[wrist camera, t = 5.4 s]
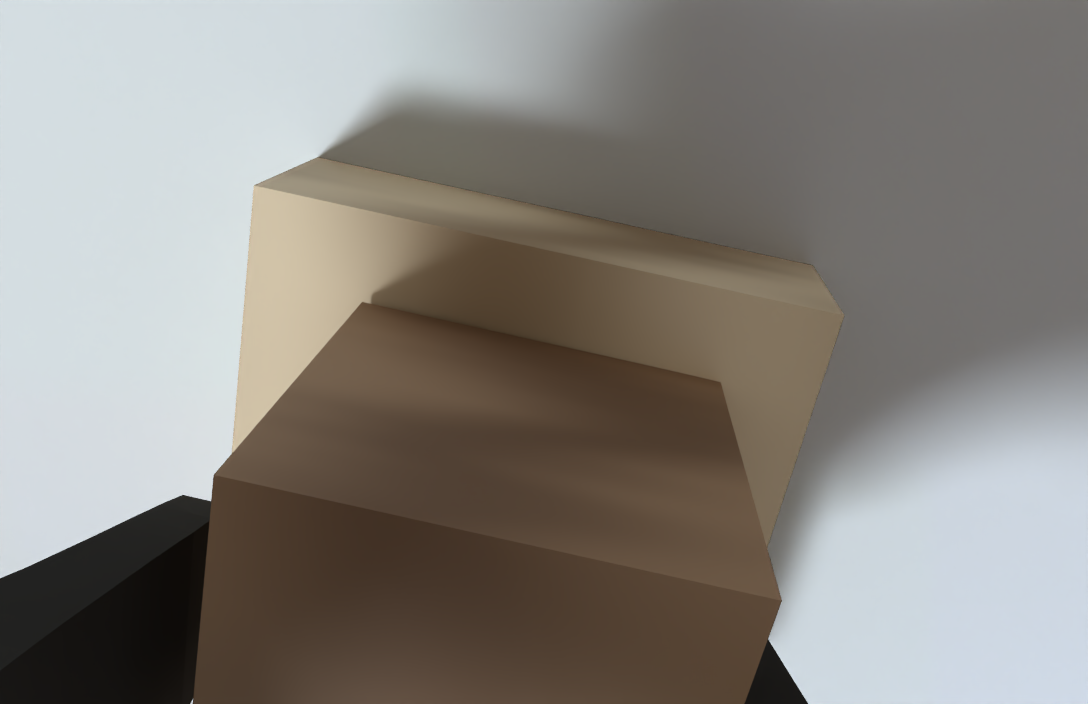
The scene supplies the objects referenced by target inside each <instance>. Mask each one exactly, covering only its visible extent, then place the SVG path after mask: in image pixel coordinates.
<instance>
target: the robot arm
mask: <svg viewBox="0 0 1088 704" xmlns="http://www.w3.org/2000/svg"><path fill="white" fill-rule="evenodd" d="M210 511H211V501H207V500H202V499H198V498H194V497H189V496H185V495H182V496H180V497H177V498H175V499H172V500H170V501H167V502H165V503H163V504H161V505H158V506H156V507H154V508H152V509H150V510H148V511H146V512H143V513H141V514H139V515H137V516H135V517H133V518H131V519H129V520H127V521H125V522H122V523H120V524H118V525H116V526H114V527H112V528H110V529H108V530H106V531H104V532H102V533H100V534H97V535H95V536H93V537H91V538H89V539H87V540H85V541H82V542H80V543H78V544H76V545H74V546H72V547H70V548H67V549H65V550H63V551H61V552H59V553H57V554H55V555H52V556H50V557H48V558H46V559H44V560H42V561H40V562H37V563H35V564H33V565H31V566H29V567H26V568H24V569H22V570H19V571H17V572H15V573H12V574H10V575H7V576H5V577H3V578H0V704H190V703H191V701H192V699H193V697H194V686H195V675H196V664H197V653H198V642H199V631H200V620H201V609H202V598H203V587H204V577H205V566H206V555H207V544H208V533H209V522H210ZM745 704H808V703H807V701H806V700H805V698H804V696H803V695H802V693H801V692H800V690H799V688H798V687H797V685H796V684H795V682H794V680H793V679H792V677H791V676H790V674H789V672H788V671H787V669H786V668H785V666H784V664H783V663H782V661H781V660H780V658H779V656H778V655H777V653H776V651H775V650H774V648H773V647H772V645H771V643H770V642H769V640H767V643H766V646H765V648H764V651H763V654H762V657H761V659H760V662H759V665H758V668H757V670H756V673H755V676H754V679H753V682H752V684H751V687H750V690H749V693H748V695H747V698H746V701H745Z"/></svg>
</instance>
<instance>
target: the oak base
mask: <svg viewBox="0 0 1088 704" xmlns="http://www.w3.org/2000/svg"><path fill="white" fill-rule="evenodd" d="M362 302H365V303H370V304H374V305H379V306H383V307H388V308H392V309H397V310H401V311H406V312H410V313H415V314H419V315H424V316H428V317H433V318H437V319H442V320H446V321H451V322H455V323H460V324H464V325H469V326H473V327H478V328H482V329H487V330H491V331H496V332H500V333H505V334H509V335H514V336H518V337H523V338H527V339H531V340H536V341H540V342H545V343H549V344H554V345H558V346H563V347H567V348H572V349H576V350H581V351H585V352H590V353H594V354H599V355H603V356H608V357H612V358H617V359H621V360H626V361H630V362H635V363H639V364H644V365H648V366H653V367H657V368H662V369H666V370H671V371H675V372H680V373H684V374H688V375H692V376H697V377H701V378H705V379H709V380H714V381H718V382H721V385H722V389H723V392H724V396H725V400H726V403H727V407H728V410H729V414H730V418H731V421H732V425H733V428H734V432H735V435H736V439H737V443H738V446H739V450H740V453H741V457H742V460H743V464H744V468H745V471H746V475H747V478H748V482H749V485H750V489H751V493H752V496H753V500H754V503H755V507H756V510H757V514H758V518H759V521H760V525H761V528H762V532H763V535H764V539H765V543H766V546H767V547H768V544H769V541H770V538H771V535H772V532H773V529H774V526H775V523H776V520H777V517H778V514H779V511H780V508H781V505H782V502H783V499H784V496H785V493H786V490H787V487H788V484H789V481H790V478H791V475H792V472H793V469H794V466H795V463H796V460H797V457H798V454H799V451H800V448H801V445H802V442H803V439H804V436H805V433H806V429H807V426H808V423H809V420H810V417H811V414H812V411H813V408H814V405H815V402H816V399H817V396H818V393H819V390H820V387H821V384H822V381H823V378H824V375H825V372H826V369H827V366H828V363H829V360H830V357H831V354H832V351H833V348H834V345H835V342H836V339H837V336H838V333H839V330H840V327H841V324H842V321H843V318H844V314H843V312H842V311H841V309H840V308H839V306H838V305H837V303H836V301H835V300H834V298H833V297H832V295H831V293H830V292H829V290H828V289H827V287H826V285H825V284H824V282H823V281H822V279H821V278H820V276H819V274H818V273H817V271H816V270H815V268H814V266H813V265H808V264H804V263H799V262H795V261H790V260H785V259H781V258H776V257H772V256H767V255H763V254H758V253H753V252H749V251H744V250H740V249H735V248H730V247H726V246H721V245H717V244H712V243H708V242H703V241H698V240H694V239H689V238H685V237H680V236H676V235H671V234H666V233H662V232H657V231H653V230H648V229H644V228H639V227H634V226H630V225H625V224H621V223H616V222H611V221H607V220H602V219H598V218H593V217H589V216H584V215H579V214H575V213H570V212H566V211H561V210H557V209H552V208H547V207H543V206H538V205H534V204H529V203H524V202H520V201H515V200H511V199H506V198H502V197H497V196H492V195H488V194H483V193H479V192H474V191H470V190H465V189H460V188H456V187H451V186H447V185H442V184H438V183H433V182H428V181H424V180H419V179H415V178H410V177H405V176H401V175H396V174H392V173H387V172H383V171H378V170H373V169H369V168H364V167H360V166H355V165H351V164H346V163H341V162H337V161H332V160H328V159H323V158H318V157H317V158H315V159H313V160H310V161H308V162H306V163H304V164H301V165H299V166H297V167H294V168H292V169H290V170H288V171H285V172H283V173H281V174H279V175H276V176H274V177H272V178H270V179H267V180H265V181H263V182H261V183H258V184H256V185H254V191H253V203H252V215H251V227H250V239H249V251H248V263H247V276H246V288H245V300H244V312H243V324H242V336H241V348H240V360H239V373H238V385H237V397H236V409H235V421H234V433H233V445H232V453H233V452H234V451H235V450H236V448H237V447H238V446H239V445H240V444H241V443H242V441H243V440H244V439H245V438H246V437H247V436H248V434H249V433H250V432H251V431H252V430H253V429H254V427H255V426H256V425H257V424H258V423H259V422H260V420H261V419H262V418H263V417H264V416H265V415H266V413H267V412H268V411H269V410H270V409H271V408H272V406H273V405H274V404H275V403H276V402H277V401H278V399H279V398H280V397H281V396H282V395H283V394H284V392H285V391H286V390H287V389H288V388H289V387H290V385H291V384H292V383H293V382H294V381H295V380H296V378H297V377H298V376H299V375H300V374H301V373H302V371H303V370H304V369H305V368H306V367H307V366H308V364H309V363H310V362H311V361H312V360H313V359H314V357H315V356H316V355H317V354H318V353H319V352H320V350H321V349H322V348H323V347H324V346H325V345H326V343H327V342H328V341H329V340H330V339H331V338H332V336H333V335H334V334H335V333H336V332H337V331H338V329H339V328H340V327H341V326H342V325H343V324H344V322H345V321H346V320H347V319H348V318H349V317H350V315H351V314H352V313H353V312H354V311H355V310H356V308H357V307H358V306H359V305H360V304H361V303H362Z"/></svg>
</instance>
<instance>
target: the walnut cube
mask: <svg viewBox="0 0 1088 704" xmlns="http://www.w3.org/2000/svg"><path fill="white" fill-rule="evenodd" d="M781 602H782V600H781V596H780V593H779V589H778V585H777V582H776V578H775V575H774V571H773V568H772V564H771V560H770V557H769V553H768V550H767V546H766V543H765V539H764V535H763V532H762V528H761V525H760V521H759V518H758V514H757V510H756V507H755V503H754V500H753V496H752V493H751V489H750V485H749V482H748V478H747V475H746V471H745V468H744V464H743V460H742V457H741V453H740V450H739V446H738V443H737V439H736V435H735V432H734V428H733V425H732V421H731V418H730V414H729V410H728V407H727V403H726V400H725V396H724V392H723V389H722V385H721V382H718V381H714V380H709V379H705V378H701V377H697V376H692V375H688V374H684V373H680V372H675V371H671V370H666V369H662V368H657V367H653V366H648V365H644V364H639V363H635V362H630V361H626V360H621V359H617V358H612V357H608V356H603V355H599V354H594V353H590V352H585V351H581V350H576V349H572V348H567V347H563V346H558V345H554V344H549V343H545V342H540V341H536V340H531V339H527V338H523V337H518V336H514V335H509V334H505V333H500V332H496V331H491V330H487V329H482V328H478V327H473V326H469V325H464V324H460V323H455V322H451V321H446V320H442V319H437V318H433V317H428V316H424V315H419V314H415V313H410V312H406V311H401V310H397V309H392V308H388V307H383V306H379V305H374V304H370V303H365V302H362V303H361V304H360V305H359V306H358V307H357V308H356V310H355V311H354V312H353V313H352V314H351V315H350V317H349V318H348V319H347V320H346V321H345V322H344V324H343V325H342V326H341V327H340V328H339V329H338V331H337V332H336V333H335V334H334V335H333V336H332V338H331V339H330V340H329V341H328V342H327V343H326V345H325V346H324V347H323V348H322V349H321V350H320V352H319V353H318V354H317V355H316V356H315V357H314V359H313V360H312V361H311V362H310V363H309V364H308V366H307V367H306V368H305V369H304V370H303V371H302V373H301V374H300V375H299V376H298V377H297V378H296V380H295V381H294V382H293V383H292V384H291V385H290V387H289V388H288V389H287V390H286V391H285V392H284V394H283V395H282V396H281V397H280V398H279V399H278V401H277V402H276V403H275V404H274V405H273V406H272V408H271V409H270V410H269V411H268V412H267V413H266V415H265V416H264V417H263V418H262V419H261V420H260V422H259V423H258V424H257V425H256V426H255V427H254V429H253V430H252V431H251V432H250V433H249V434H248V436H247V437H246V438H245V439H244V440H243V441H242V443H241V444H240V445H239V446H238V447H237V448H236V450H235V451H234V452H233V453H232V454H231V455H230V457H229V458H228V459H227V460H226V461H225V462H224V464H223V465H222V466H221V467H220V468H219V469H218V471H217V472H216V473H215V474H214V478H213V489H212V500H211V511H210V522H209V533H208V544H207V555H206V566H205V577H204V587H203V598H202V609H201V620H200V631H199V642H198V653H197V664H196V675H195V686H194V697H193V704H745V701H746V698H747V695H748V693H749V690H750V687H751V684H752V682H753V679H754V676H755V673H756V670H757V668H758V665H759V662H760V659H761V657H762V654H763V651H764V648H765V646H766V643H767V640H768V637H769V635H770V632H771V629H772V626H773V624H774V621H775V618H776V615H777V613H778V610H779V607H780V604H781Z"/></svg>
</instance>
